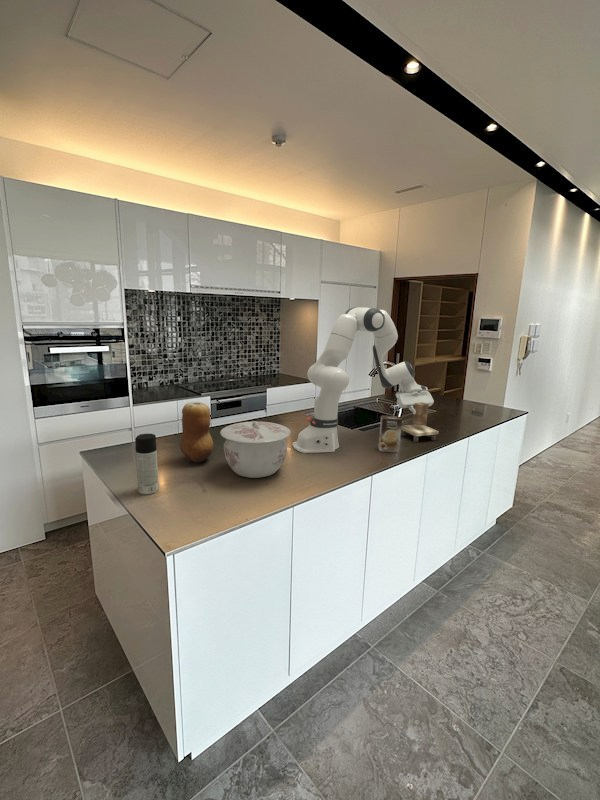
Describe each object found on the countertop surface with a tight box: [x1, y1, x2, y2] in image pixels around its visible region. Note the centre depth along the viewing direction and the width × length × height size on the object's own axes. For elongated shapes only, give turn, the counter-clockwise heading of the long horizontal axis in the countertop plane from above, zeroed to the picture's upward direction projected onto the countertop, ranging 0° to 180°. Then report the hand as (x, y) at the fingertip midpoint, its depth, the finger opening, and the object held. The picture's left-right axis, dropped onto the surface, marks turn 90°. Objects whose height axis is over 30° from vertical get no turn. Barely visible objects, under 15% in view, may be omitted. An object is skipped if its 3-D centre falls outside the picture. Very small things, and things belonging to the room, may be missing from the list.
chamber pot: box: [219, 420, 292, 479], centre depth 152 cm, size 28×28×21 cm
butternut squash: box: [179, 401, 214, 464], centre depth 160 cm, size 14×13×25 cm
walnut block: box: [411, 402, 429, 426], centre depth 200 cm, size 5×5×11 cm
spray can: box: [134, 433, 160, 495], centre depth 132 cm, size 7×7×20 cm
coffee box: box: [377, 414, 403, 453], centre depth 181 cm, size 9×6×16 cm
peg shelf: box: [400, 424, 439, 443], centre depth 202 cm, size 14×14×5 cm
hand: (421, 413), depth 199 cm, fingers closed on walnut block, 5 cm apart
